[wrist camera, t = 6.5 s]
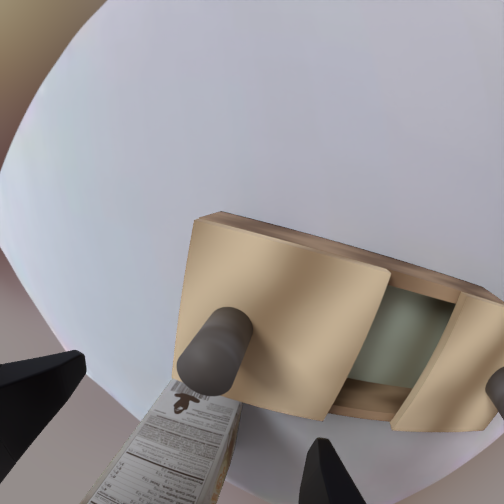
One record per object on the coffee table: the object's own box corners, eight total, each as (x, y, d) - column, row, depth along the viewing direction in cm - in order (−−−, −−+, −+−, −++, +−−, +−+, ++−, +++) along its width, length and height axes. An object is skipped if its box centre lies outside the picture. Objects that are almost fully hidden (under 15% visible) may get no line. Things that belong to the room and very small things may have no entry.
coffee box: (236, 450, 23) (188, 583, 8) (176, 433, 24) (107, 551, 9) (246, 388, 21) (177, 569, 6) (172, 369, 22) (63, 513, 7)
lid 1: (386, 269, 13) (422, 308, 8) (322, 413, 16) (322, 473, 11) (199, 218, 14) (150, 234, 10) (176, 371, 17) (140, 420, 12)
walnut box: (482, 286, 16) (510, 306, 12) (428, 393, 18) (442, 424, 15) (221, 211, 18) (198, 217, 15) (196, 341, 21) (175, 369, 17)
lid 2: (543, 317, 11) (580, 347, 7) (480, 424, 14) (500, 463, 9) (461, 291, 13) (507, 329, 8) (389, 422, 15) (402, 477, 10)
